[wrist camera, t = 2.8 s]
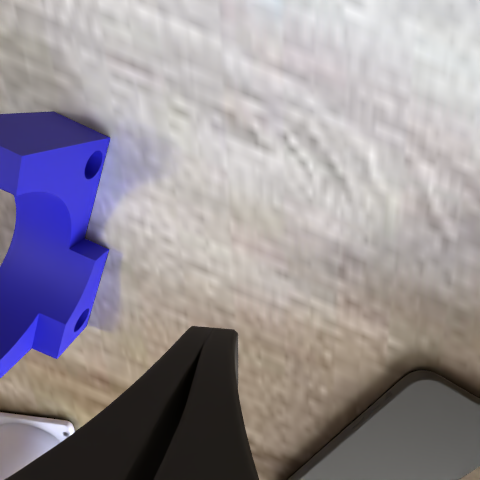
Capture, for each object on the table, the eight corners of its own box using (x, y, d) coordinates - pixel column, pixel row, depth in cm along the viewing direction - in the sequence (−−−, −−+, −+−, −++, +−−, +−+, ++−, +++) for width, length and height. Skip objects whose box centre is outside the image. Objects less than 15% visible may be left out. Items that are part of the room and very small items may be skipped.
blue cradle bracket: (86, 326, 22) (16, 403, 16) (20, 297, 21) (-73, 365, 16) (138, 150, 17) (63, 175, 11) (53, 111, 17) (-64, 117, 11)
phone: (273, 500, 24) (422, 371, 18) (274, 487, 25) (417, 360, 19) (359, 544, 25) (531, 434, 19) (357, 531, 26) (522, 421, 19)
